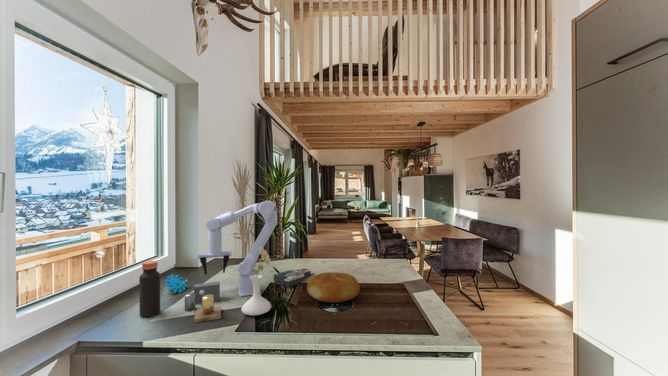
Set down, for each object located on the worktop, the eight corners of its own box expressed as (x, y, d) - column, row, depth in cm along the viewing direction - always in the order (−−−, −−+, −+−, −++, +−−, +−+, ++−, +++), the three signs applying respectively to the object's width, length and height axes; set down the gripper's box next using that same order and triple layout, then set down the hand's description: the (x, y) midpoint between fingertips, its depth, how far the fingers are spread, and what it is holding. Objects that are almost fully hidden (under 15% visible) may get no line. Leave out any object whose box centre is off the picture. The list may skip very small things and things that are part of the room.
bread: (325, 283, 145) (324, 264, 145) (367, 292, 133) (367, 271, 133) (297, 299, 125) (297, 276, 125) (344, 310, 113) (344, 285, 113)
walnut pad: (221, 308, 114) (221, 306, 114) (221, 318, 106) (221, 315, 106) (196, 312, 111) (196, 309, 111) (194, 322, 103) (194, 319, 103)
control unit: (219, 296, 127) (219, 281, 127) (219, 301, 123) (219, 284, 123) (194, 300, 123) (194, 284, 123) (193, 304, 119) (193, 287, 119)
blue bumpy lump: (171, 293, 127) (163, 274, 131) (164, 301, 129) (156, 283, 132) (192, 288, 137) (184, 271, 141) (185, 296, 139) (177, 279, 142)
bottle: (155, 317, 107) (155, 264, 107) (135, 318, 106) (135, 265, 106) (163, 309, 114) (163, 259, 114) (144, 310, 113) (144, 260, 113)
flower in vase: (260, 320, 104) (260, 252, 104) (234, 315, 108) (234, 250, 108) (279, 306, 117) (278, 245, 117) (255, 302, 121) (255, 243, 121)
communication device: (317, 276, 159) (317, 260, 159) (289, 288, 138) (289, 270, 138) (300, 272, 165) (300, 257, 165) (271, 284, 144) (271, 267, 144)
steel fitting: (196, 306, 117) (196, 291, 117) (195, 310, 113) (195, 295, 113) (185, 308, 115) (185, 293, 115) (184, 312, 112) (184, 296, 112)
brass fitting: (213, 309, 111) (213, 293, 111) (214, 313, 108) (213, 297, 108) (202, 311, 110) (202, 295, 110) (202, 315, 106) (202, 299, 106)
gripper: (231, 240, 138) (231, 268, 138) (198, 243, 133) (198, 272, 133) (231, 243, 132) (231, 272, 132) (197, 246, 126) (197, 276, 126)
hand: (214, 272), depth 132 cm, fingers open, 7 cm apart
